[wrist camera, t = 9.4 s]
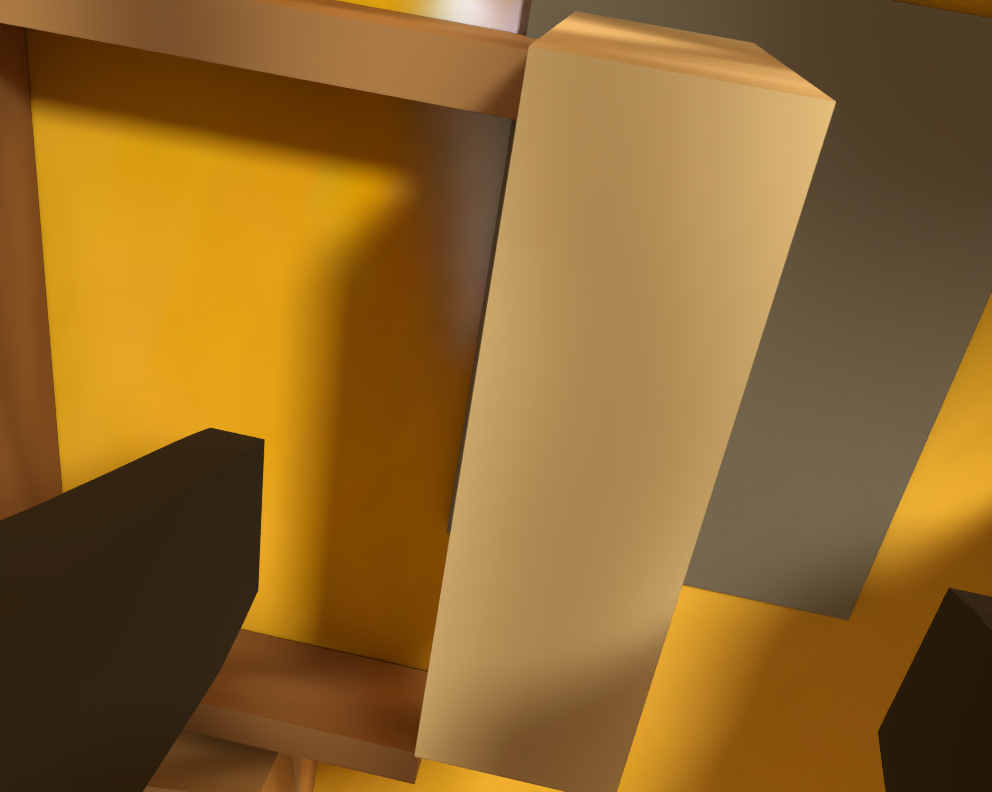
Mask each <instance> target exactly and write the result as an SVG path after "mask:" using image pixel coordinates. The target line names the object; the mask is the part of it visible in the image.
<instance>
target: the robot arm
mask: <svg viewBox="0 0 992 792" xmlns="http://www.w3.org/2000/svg"><path fill="white" fill-rule="evenodd" d="M264 440H265V439H260V438H256V437H251V436H246V435H242V434H237V433H233V432H228V431H223V430H219V429H214V428H208V429H205V430H203V431H200V432H197V433H195V434H192V435H190V436H187V437H185V438H183V439H181V440H178V441H176V442H174V443H172V444H169V445H167V446H165V447H163V448H161V449H158V450H156V451H154V452H152V453H150V454H148V455H145V456H143V457H141V458H139V459H137V460H135V461H133V462H130V463H128V464H126V465H124V466H122V467H120V468H118V469H115V470H113V471H111V472H109V473H107V474H105V475H102V476H100V477H98V478H96V479H94V480H91V481H89V482H87V483H85V484H83V485H80V486H78V487H76V488H74V489H72V490H69V491H67V492H65V493H63V494H61V495H58V496H56V497H54V498H52V499H50V500H47V501H45V502H43V503H41V504H38V505H36V506H34V507H31V508H29V509H27V510H24V511H22V512H19V513H17V514H14V515H12V516H10V517H7V518H5V519H2V520H0V792H143V791H144V789H145V788H146V786H147V785H148V783H149V781H150V780H151V778H152V777H153V775H154V774H155V772H156V771H157V769H158V768H159V766H160V764H161V763H162V761H163V760H164V758H165V757H166V755H167V754H168V752H169V751H170V749H171V747H172V746H173V744H174V743H175V741H176V740H177V738H178V737H179V735H180V733H181V732H182V730H183V729H184V727H185V726H186V724H187V722H188V721H189V719H190V718H191V716H192V715H193V713H194V711H195V710H196V708H197V707H198V705H199V704H200V702H201V700H202V699H203V697H204V696H205V694H206V693H207V691H208V689H209V688H210V686H211V685H212V683H213V681H214V680H215V678H216V677H217V675H218V673H219V672H220V670H221V668H222V666H223V664H224V662H225V660H226V658H227V656H228V654H229V652H230V650H231V648H232V645H233V643H234V641H235V639H236V637H237V635H238V633H239V631H240V629H241V627H242V624H243V622H244V620H245V618H246V616H247V614H248V611H249V609H250V607H251V605H252V603H253V601H254V598H255V596H256V594H257V592H258V583H259V559H260V535H261V512H262V488H263V464H264ZM878 736H879V744H880V752H881V759H882V767H883V775H884V783H885V789H886V792H992V597H990V596H985V595H980V594H976V593H971V592H967V591H962V590H957V589H953V588H949V589H948V591H947V593H946V595H945V597H944V599H943V601H942V603H941V605H940V607H939V609H938V611H937V613H936V615H935V617H934V619H933V621H932V623H931V625H930V627H929V629H928V631H927V633H926V635H925V637H924V639H923V641H922V644H921V646H920V648H919V650H918V652H917V654H916V656H915V658H914V660H913V662H912V664H911V666H910V668H909V670H908V672H907V674H906V676H905V678H904V680H903V682H902V684H901V686H900V688H899V690H898V692H897V694H896V696H895V698H894V700H893V702H892V704H891V706H890V708H889V710H888V712H887V715H886V717H885V719H884V721H883V723H882V725H881V727H880V729H879V731H878Z"/></svg>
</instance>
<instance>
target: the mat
mask: <svg viewBox="0 0 992 792" xmlns="http://www.w3.org/2000/svg"><path fill="white" fill-rule="evenodd" d="M575 11H578V12H584V13H590V14H595V15H601V16H606V17H612V18H618V19H623V20H629V21H634V22H640V23H645V24H651V25H657V26H662V27H668V28H673V29H679V30H685V31H690V32H696V33H701V34H707V35H712V36H718V37H724V38H729V39H735V40H740V41H746V42H752V43H755V44H756V45H757V46H759V47H760V48H762V49H763V50H764V51H766V52H767V53H769V54H770V55H771V56H773V57H774V58H776V59H777V60H778V61H780V62H781V63H783V64H784V65H785V66H787V67H788V68H790V69H791V70H792V71H794V72H795V73H797V74H798V75H799V76H801V77H802V78H804V79H805V80H806V81H808V82H809V83H811V84H812V85H813V86H815V87H816V88H818V89H819V90H820V91H822V92H823V93H825V94H826V95H827V96H829V97H830V98H832V99H833V100H834V101H836V104H835V107H834V110H833V113H832V116H831V120H830V123H829V126H828V129H827V132H826V135H825V138H824V142H823V145H822V148H821V151H820V154H819V157H818V160H817V164H816V167H815V170H814V173H813V176H812V179H811V182H810V186H809V189H808V192H807V195H806V198H805V201H804V204H803V208H802V211H801V214H800V217H799V220H798V223H797V226H796V230H795V233H794V236H793V239H792V242H791V245H790V248H789V252H788V255H787V258H786V261H785V264H784V267H783V270H782V274H781V277H780V280H779V283H778V286H777V289H776V292H775V296H774V299H773V302H772V305H771V308H770V311H769V314H768V318H767V321H766V324H765V327H764V330H763V333H762V336H761V340H760V343H759V346H758V349H757V352H756V355H755V358H754V362H753V365H752V368H751V371H750V374H749V377H748V380H747V384H746V387H745V390H744V393H743V396H742V399H741V403H740V406H739V409H738V412H737V415H736V418H735V421H734V425H733V428H732V431H731V434H730V437H729V440H728V443H727V447H726V450H725V453H724V456H723V459H722V462H721V465H720V469H719V472H718V475H717V478H716V481H715V484H714V487H713V491H712V494H711V497H710V500H709V503H708V506H707V509H706V513H705V516H704V519H703V522H702V525H701V528H700V531H699V535H698V538H697V541H696V544H695V547H694V550H693V553H692V557H691V560H690V563H689V566H688V569H687V572H686V575H685V579H684V582H683V584H684V585H688V586H693V587H697V588H702V589H707V590H711V591H716V592H720V593H725V594H730V595H734V596H739V597H743V598H748V599H752V600H757V601H762V602H766V603H771V604H775V605H780V606H785V607H789V608H794V609H798V610H803V611H808V612H812V613H817V614H821V615H826V616H831V617H835V618H840V619H844V620H849V617H850V615H851V613H852V610H853V608H854V606H855V604H856V601H857V599H858V597H859V594H860V592H861V590H862V588H863V585H864V583H865V581H866V578H867V576H868V574H869V571H870V569H871V567H872V565H873V562H874V560H875V558H876V555H877V553H878V551H879V549H880V546H881V544H882V542H883V539H884V537H885V535H886V533H887V530H888V528H889V526H890V523H891V521H892V519H893V517H894V514H895V512H896V510H897V507H898V505H899V503H900V500H901V498H902V496H903V494H904V491H905V489H906V487H907V484H908V482H909V480H910V478H911V475H912V473H913V471H914V468H915V466H916V464H917V462H918V459H919V457H920V455H921V452H922V450H923V448H924V446H925V443H926V441H927V439H928V436H929V434H930V432H931V430H932V427H933V425H934V423H935V420H936V418H937V416H938V413H939V411H940V409H941V407H942V404H943V402H944V400H945V397H946V395H947V393H948V391H949V388H950V386H951V384H952V381H953V379H954V377H955V375H956V372H957V370H958V368H959V365H960V363H961V361H962V359H963V356H964V354H965V352H966V349H967V347H968V345H969V342H970V340H971V338H972V336H973V333H974V331H975V329H976V326H977V324H978V322H979V320H980V317H981V315H982V313H983V310H984V308H985V306H986V304H987V301H988V299H989V297H990V294H991V292H992V18H989V17H983V16H977V15H972V14H966V13H960V12H954V11H949V10H943V9H937V8H932V7H926V6H920V5H914V4H909V3H903V2H897V1H892V0H532V1H531V7H530V14H529V20H528V26H527V33H526V37H530V38H536V39H539V38H540V37H541V36H543V35H544V34H546V33H547V32H548V31H550V30H551V29H552V28H554V27H555V26H556V25H558V24H559V23H560V22H562V21H563V20H564V19H566V18H567V17H568V16H570V15H571V14H572V13H574V12H575ZM516 123H517V120H516V119H513V120H512V127H511V133H510V139H509V146H508V152H507V158H506V164H505V171H504V177H503V183H502V189H501V196H500V202H499V208H498V215H497V221H496V227H495V233H494V240H493V246H492V252H491V259H490V265H489V271H488V277H487V284H486V290H485V296H484V302H483V309H482V315H481V321H480V328H479V334H478V340H477V346H476V353H475V359H474V365H473V372H472V378H471V384H470V390H469V397H468V403H467V409H466V415H465V422H464V428H463V434H462V441H461V447H460V453H459V459H458V466H457V472H456V478H455V485H454V491H453V497H452V503H451V510H450V516H449V522H448V528H447V533H449V534H450V532H451V526H452V520H453V514H454V508H455V501H456V495H457V489H458V483H459V477H460V470H461V464H462V458H463V452H464V446H465V439H466V433H467V427H468V421H469V415H470V408H471V402H472V396H473V390H474V384H475V377H476V371H477V365H478V359H479V353H480V346H481V340H482V334H483V328H484V322H485V315H486V309H487V303H488V297H489V291H490V284H491V278H492V272H493V266H494V259H495V253H496V247H497V241H498V235H499V228H500V222H501V216H502V210H503V204H504V197H505V191H506V185H507V179H508V173H509V166H510V160H511V154H512V148H513V142H514V135H515V129H516Z"/></svg>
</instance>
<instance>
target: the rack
mask: <svg viewBox="0 0 992 792" xmlns="http://www.w3.org/2000/svg"><path fill="white" fill-rule="evenodd" d="M24 27H26V28H31V29H36V30H42V31H47V32H52V33H58V34H63V35H68V36H74V37H79V38H84V39H90V40H95V41H100V42H106V43H111V44H116V45H122V46H127V47H132V48H138V49H143V50H148V51H154V52H159V53H164V54H170V55H175V56H180V57H186V58H191V59H196V60H202V61H207V62H212V63H218V64H223V65H228V66H234V67H239V68H244V69H250V70H255V71H260V72H266V73H271V74H276V75H282V76H287V77H292V78H298V79H303V80H308V81H313V82H319V83H324V84H329V85H335V86H340V87H345V88H351V89H356V90H361V91H367V92H372V93H377V94H383V95H388V96H393V97H399V98H404V99H409V100H415V101H420V102H425V103H431V104H436V105H441V106H447V107H452V108H457V109H463V110H468V111H473V112H479V113H484V114H489V115H495V116H500V117H505V118H511V119H516V120H517V117H518V111H519V104H520V98H521V92H522V86H523V80H524V73H525V67H526V61H527V55H528V49H529V45H531V44H532V43H533V42H535V41H536V40H537V39H536V38H530V37H526V35H523V34H517V33H512V32H506V31H501V30H495V29H490V28H484V27H479V26H473V25H468V24H462V23H457V22H451V21H446V20H440V19H435V18H429V17H424V16H418V15H413V14H407V13H402V12H396V11H391V10H385V9H379V8H374V7H368V6H363V5H357V4H352V3H346V2H341V1H335V0H0V520H2V519H5V518H7V517H10V516H12V515H14V514H17V513H19V512H22V511H24V510H27V509H29V508H31V507H34V506H36V505H38V504H41V503H43V502H45V501H47V500H50V499H52V498H54V497H56V496H58V495H61V494H62V485H61V472H60V460H59V448H58V435H57V423H56V411H55V398H54V386H53V374H52V362H51V349H50V337H49V325H48V312H47V300H46V288H45V275H44V263H43V251H42V239H41V226H40V214H39V202H38V189H37V177H36V165H35V153H34V140H33V128H32V116H31V103H30V91H29V79H28V66H27V54H26V42H25V30H24ZM427 675H428V672H427V671H422V670H418V669H414V668H409V667H405V666H400V665H396V664H392V663H387V662H383V661H378V660H374V659H370V658H365V657H361V656H356V655H352V654H348V653H343V652H339V651H334V650H330V649H326V648H321V647H317V646H313V645H308V644H304V643H299V642H295V641H291V640H286V639H282V638H277V637H273V636H269V635H264V634H260V633H255V632H251V631H247V630H242V629H240V631H239V633H238V635H237V637H236V639H235V641H234V643H233V645H232V648H231V650H230V652H229V654H228V656H227V658H226V660H225V662H224V664H223V666H222V668H221V670H220V672H219V673H218V675H217V677H216V678H215V680H214V681H213V683H212V685H211V686H210V688H209V689H208V691H207V693H206V694H205V696H204V697H203V699H202V700H201V702H200V704H199V705H198V707H197V708H196V710H195V711H194V713H193V715H192V716H191V718H190V719H189V721H188V722H187V724H186V726H185V727H184V729H183V730H187V731H191V732H195V733H199V734H204V735H208V736H212V737H216V738H221V739H225V740H229V741H233V742H238V743H242V744H246V745H250V746H255V747H259V748H263V749H267V750H272V751H276V752H280V753H284V754H288V755H293V756H297V757H301V758H305V759H310V760H314V761H318V762H322V763H327V764H331V765H335V766H339V767H344V768H348V769H352V770H356V771H361V772H365V773H369V774H373V775H378V776H382V777H386V778H390V779H395V780H399V781H403V782H407V783H411V784H415V780H416V777H417V773H418V769H419V766H420V762H421V758H419V757H415V749H416V743H417V737H418V731H419V725H420V718H421V712H422V706H423V700H424V694H425V687H426V681H427Z"/></svg>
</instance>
